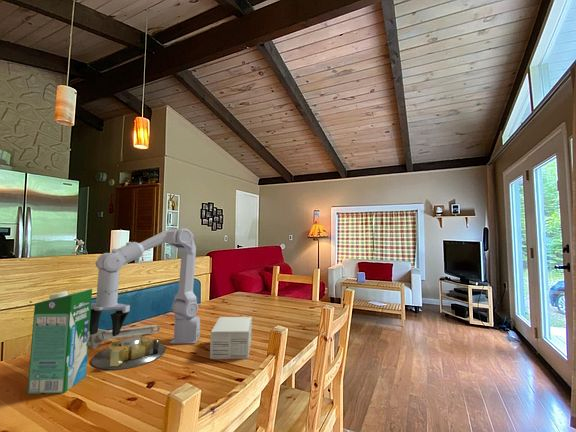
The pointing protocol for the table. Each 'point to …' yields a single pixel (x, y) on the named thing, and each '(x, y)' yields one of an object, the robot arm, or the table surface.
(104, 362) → the cap base
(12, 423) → the table surface
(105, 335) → the wrench
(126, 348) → the golden segmented ring
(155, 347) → the stop pin
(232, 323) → the supplement box
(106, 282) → the robot arm
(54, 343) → the milk carton
